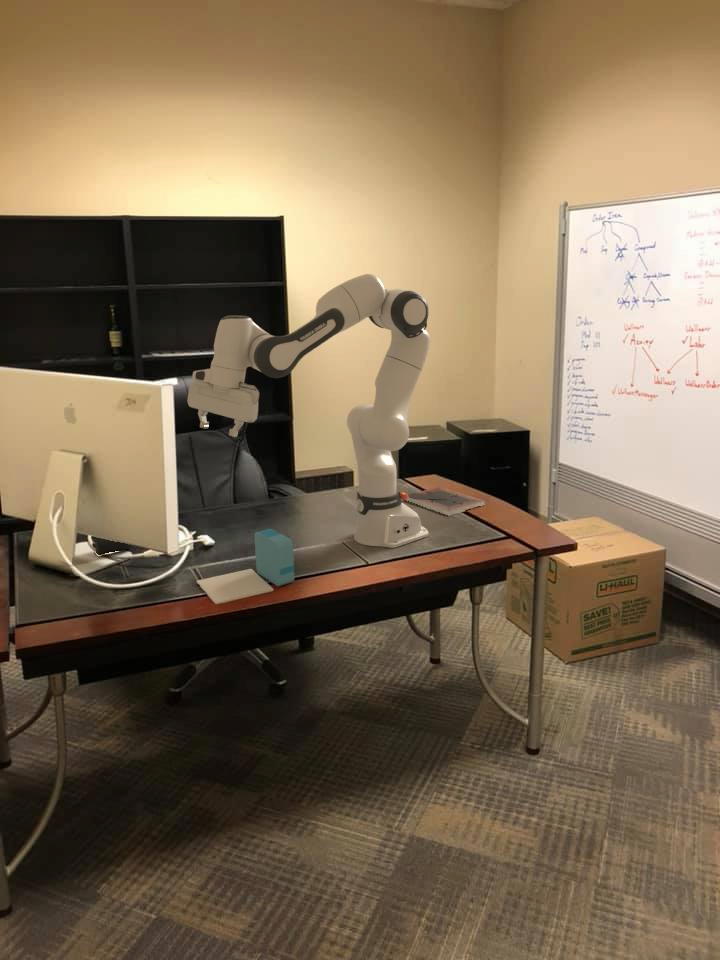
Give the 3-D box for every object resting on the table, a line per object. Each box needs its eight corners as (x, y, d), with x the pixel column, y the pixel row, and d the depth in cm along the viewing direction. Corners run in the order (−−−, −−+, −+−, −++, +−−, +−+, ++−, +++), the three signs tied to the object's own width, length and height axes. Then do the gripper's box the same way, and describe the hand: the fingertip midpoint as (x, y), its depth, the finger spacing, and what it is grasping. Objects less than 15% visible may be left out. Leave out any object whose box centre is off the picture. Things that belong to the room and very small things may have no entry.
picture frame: (404, 502, 254) (448, 517, 238) (404, 495, 253) (448, 510, 237) (439, 492, 264) (484, 507, 247) (439, 485, 263) (484, 500, 247)
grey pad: (251, 570, 198) (251, 568, 198) (273, 590, 185) (273, 588, 185) (196, 582, 191) (196, 580, 191) (215, 604, 178) (215, 602, 178)
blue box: (295, 583, 189) (293, 539, 186) (279, 588, 187) (277, 543, 183) (271, 569, 198) (268, 526, 195) (256, 573, 196) (253, 530, 193)
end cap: (100, 560, 206) (97, 537, 204) (91, 553, 212) (89, 530, 210) (135, 551, 212) (132, 529, 210) (126, 544, 217) (123, 523, 216)
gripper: (267, 387, 187) (258, 441, 189) (203, 372, 195) (195, 423, 198) (252, 386, 181) (243, 441, 183) (187, 370, 190) (180, 423, 192)
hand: (218, 432), depth 191 cm, fingers open, 8 cm apart
